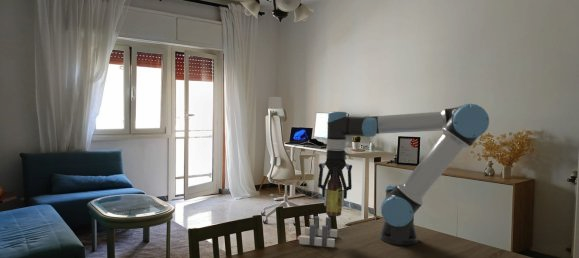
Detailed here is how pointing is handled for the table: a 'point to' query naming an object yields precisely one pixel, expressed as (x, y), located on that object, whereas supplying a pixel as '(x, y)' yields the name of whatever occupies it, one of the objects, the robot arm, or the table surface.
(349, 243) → the table surface
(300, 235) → the pad
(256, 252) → the table surface
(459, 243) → the table surface
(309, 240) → the grey block structure
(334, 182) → the sauce bottle
